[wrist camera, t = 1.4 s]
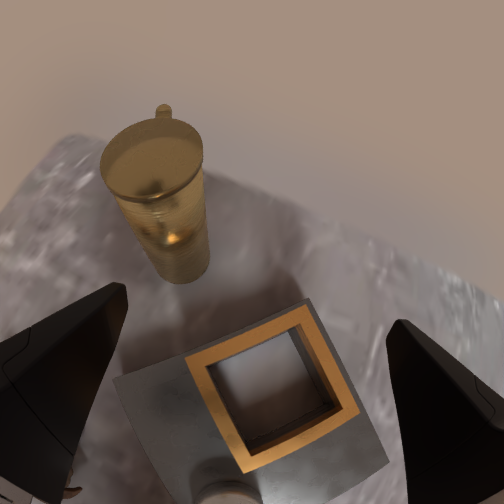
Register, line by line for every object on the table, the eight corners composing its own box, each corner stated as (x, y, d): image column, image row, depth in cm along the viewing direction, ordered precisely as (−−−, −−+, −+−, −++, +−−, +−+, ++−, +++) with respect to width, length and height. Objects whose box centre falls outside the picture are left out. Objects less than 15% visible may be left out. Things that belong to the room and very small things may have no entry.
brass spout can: (211, 284, 24) (201, 192, 12) (151, 285, 23) (89, 199, 11) (210, 207, 27) (206, 91, 15) (156, 209, 26) (122, 99, 14)
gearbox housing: (210, 533, 14) (207, 565, 9) (123, 378, 20) (95, 379, 15) (375, 456, 18) (409, 470, 13) (300, 305, 24) (320, 285, 19)
